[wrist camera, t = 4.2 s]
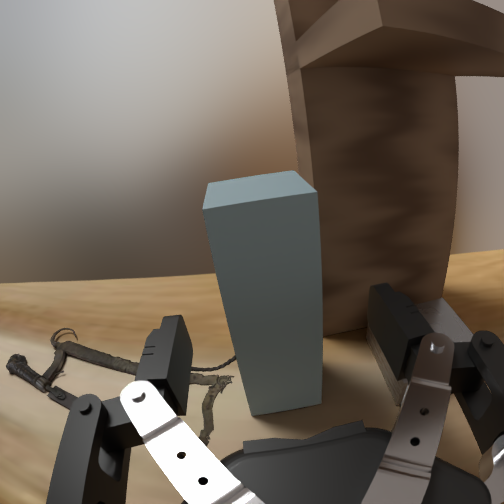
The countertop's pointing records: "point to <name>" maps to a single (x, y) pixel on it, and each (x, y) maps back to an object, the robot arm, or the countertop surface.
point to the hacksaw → (100, 358)
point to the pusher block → (270, 285)
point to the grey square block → (441, 322)
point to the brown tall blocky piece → (382, 136)
